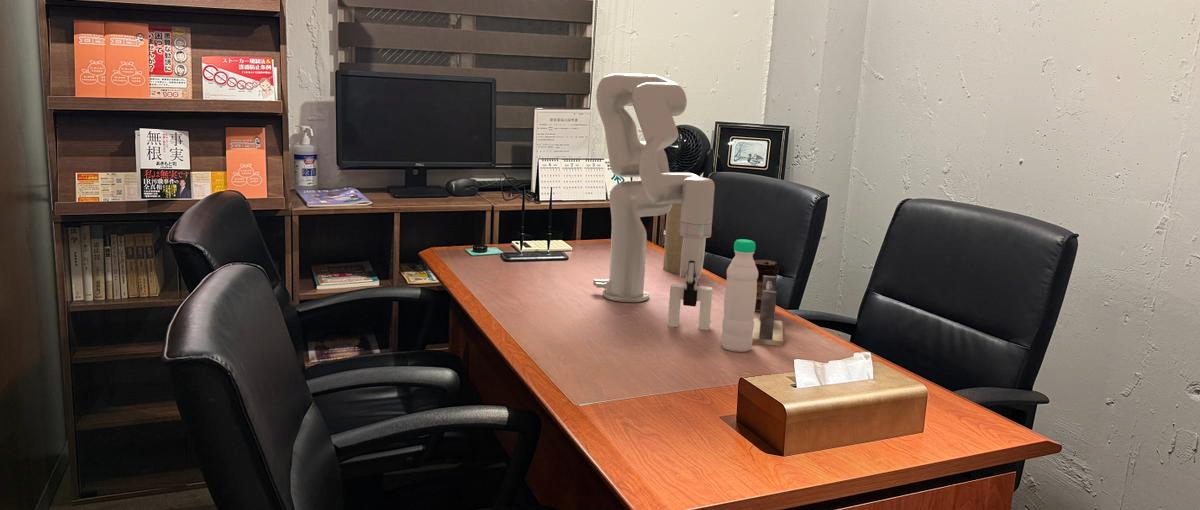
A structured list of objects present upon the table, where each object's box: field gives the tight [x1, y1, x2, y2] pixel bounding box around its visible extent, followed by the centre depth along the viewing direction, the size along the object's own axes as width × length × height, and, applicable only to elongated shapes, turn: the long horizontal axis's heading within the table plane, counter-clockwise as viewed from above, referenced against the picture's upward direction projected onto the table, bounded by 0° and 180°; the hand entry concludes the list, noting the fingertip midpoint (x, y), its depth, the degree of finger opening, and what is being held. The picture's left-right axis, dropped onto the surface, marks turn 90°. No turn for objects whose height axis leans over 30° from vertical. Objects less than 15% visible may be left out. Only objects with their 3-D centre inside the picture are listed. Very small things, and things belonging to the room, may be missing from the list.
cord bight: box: [667, 283, 713, 331], centre depth 213 cm, size 10×3×10 cm, turn 80°
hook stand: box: [752, 275, 784, 347], centre depth 210 cm, size 8×17×12 cm, turn 170°
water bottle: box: [720, 238, 758, 353], centre depth 197 cm, size 7×7×25 cm
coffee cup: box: [754, 259, 780, 312], centre depth 231 cm, size 9×8×13 cm
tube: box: [662, 204, 684, 274], centre depth 271 cm, size 10×10×25 cm
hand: (690, 302), depth 213 cm, fingers open, 3 cm apart
